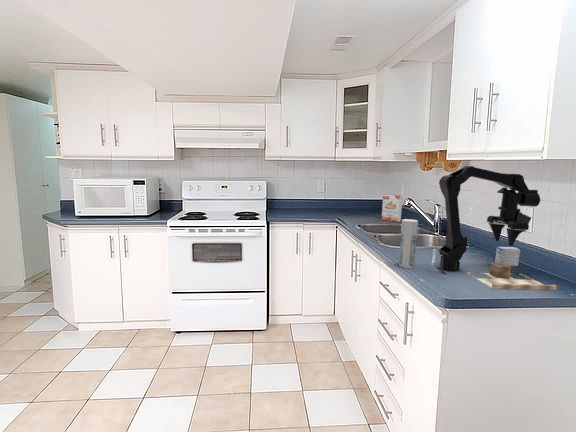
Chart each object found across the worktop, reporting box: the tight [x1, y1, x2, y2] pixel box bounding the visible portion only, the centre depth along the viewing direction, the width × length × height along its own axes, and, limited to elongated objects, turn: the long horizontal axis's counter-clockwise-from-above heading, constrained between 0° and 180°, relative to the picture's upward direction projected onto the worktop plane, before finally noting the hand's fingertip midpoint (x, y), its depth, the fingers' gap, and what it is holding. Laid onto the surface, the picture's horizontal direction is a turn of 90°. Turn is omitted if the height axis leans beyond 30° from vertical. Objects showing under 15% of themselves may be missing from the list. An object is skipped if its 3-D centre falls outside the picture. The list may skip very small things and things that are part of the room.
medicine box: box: [494, 246, 521, 267], centre depth 160 cm, size 8×4×9 cm, turn 92°
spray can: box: [398, 218, 419, 269], centre depth 156 cm, size 6×6×20 cm
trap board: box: [467, 272, 558, 291], centre depth 136 cm, size 22×19×3 cm
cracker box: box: [381, 193, 404, 223], centre depth 289 cm, size 14×6×21 cm, turn 50°
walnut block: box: [489, 262, 512, 279], centre depth 141 cm, size 5×5×4 cm
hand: (503, 243), depth 149 cm, fingers open, 9 cm apart
